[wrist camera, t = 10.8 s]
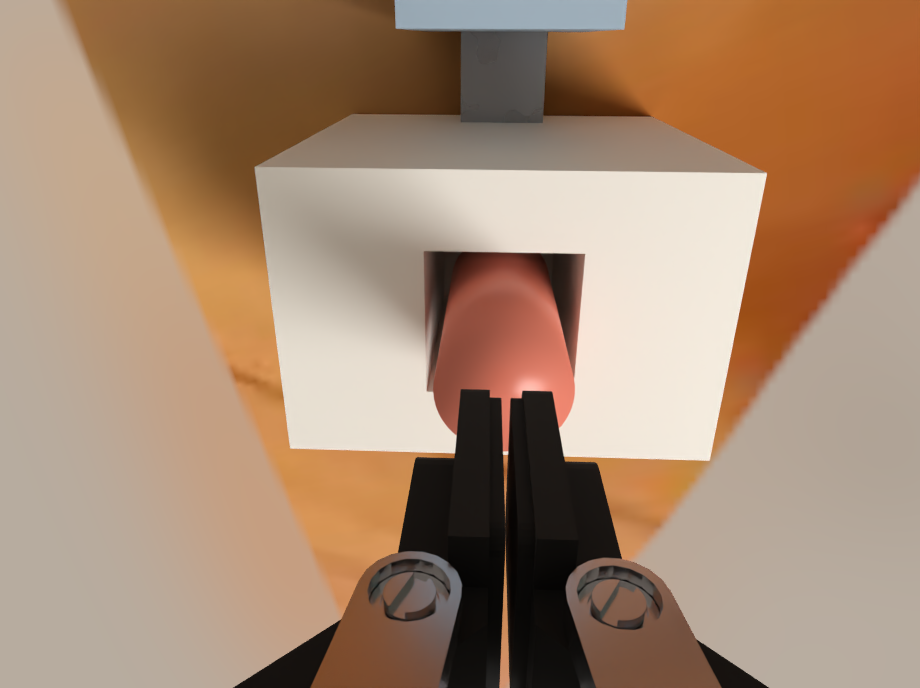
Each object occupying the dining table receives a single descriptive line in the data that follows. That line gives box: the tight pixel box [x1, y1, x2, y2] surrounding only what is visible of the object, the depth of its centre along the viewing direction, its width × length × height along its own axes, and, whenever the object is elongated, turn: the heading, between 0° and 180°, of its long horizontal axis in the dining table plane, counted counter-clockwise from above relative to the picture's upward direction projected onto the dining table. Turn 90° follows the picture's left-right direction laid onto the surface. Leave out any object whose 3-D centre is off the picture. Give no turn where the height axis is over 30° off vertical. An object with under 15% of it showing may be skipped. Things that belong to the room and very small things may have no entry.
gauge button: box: [433, 252, 575, 451], centre depth 17 cm, size 3×3×7 cm
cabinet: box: [254, 114, 767, 461], centre depth 22 cm, size 8×12×12 cm, turn 90°
